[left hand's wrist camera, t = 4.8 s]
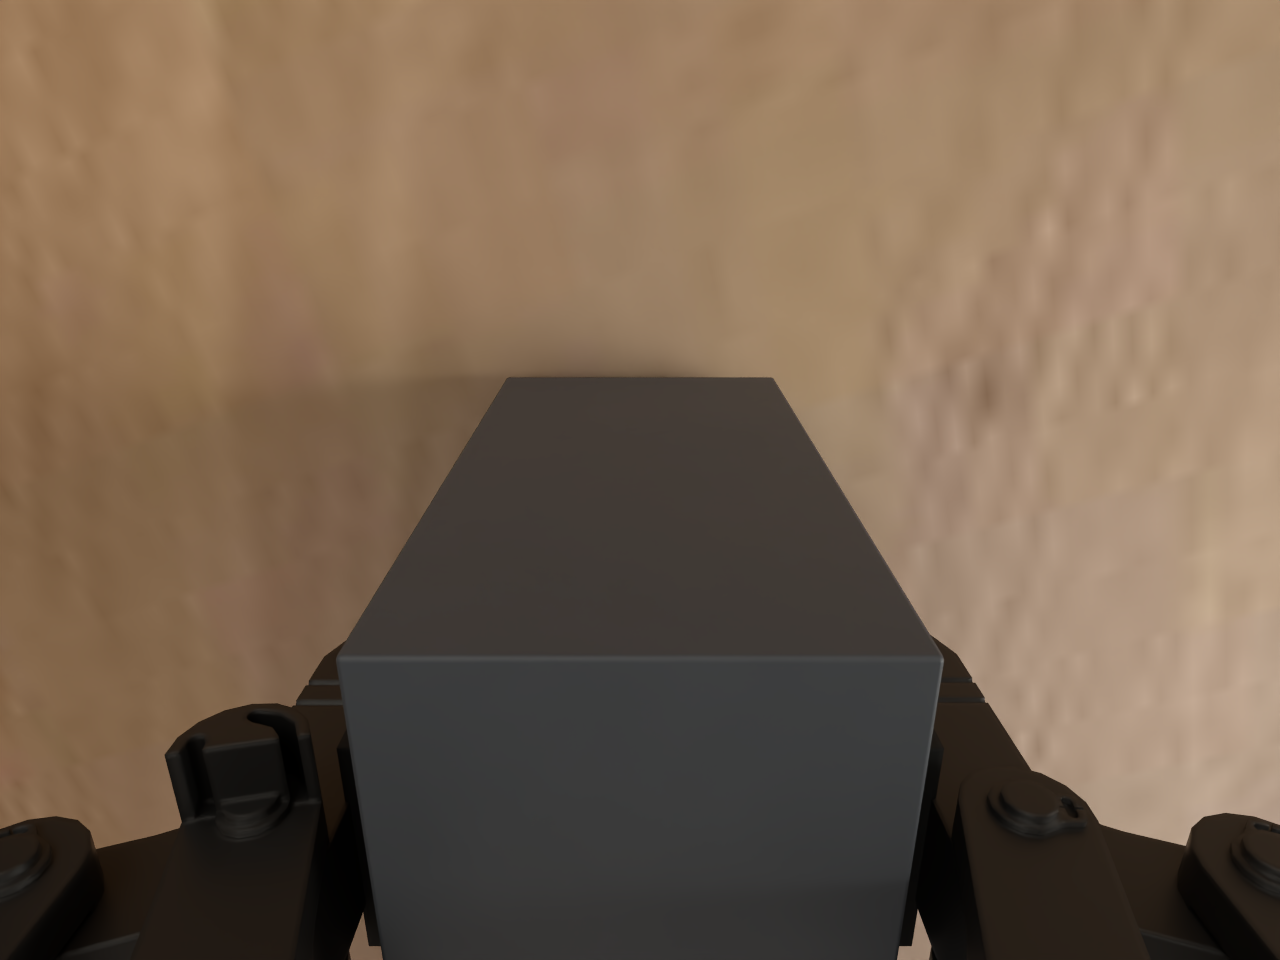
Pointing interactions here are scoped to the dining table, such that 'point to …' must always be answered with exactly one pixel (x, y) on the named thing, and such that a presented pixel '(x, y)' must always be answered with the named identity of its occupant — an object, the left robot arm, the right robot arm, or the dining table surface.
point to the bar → (639, 692)
